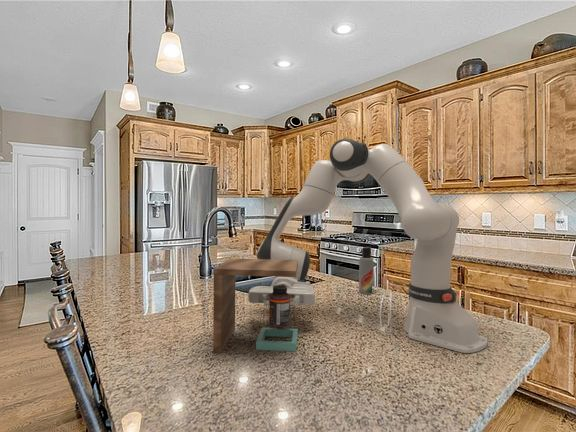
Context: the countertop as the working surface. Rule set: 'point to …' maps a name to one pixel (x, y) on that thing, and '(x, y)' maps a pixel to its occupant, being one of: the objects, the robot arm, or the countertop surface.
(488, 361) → the countertop surface
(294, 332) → the socket
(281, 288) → the supplement bottle
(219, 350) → the wooden l-shaped bracket
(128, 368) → the countertop surface
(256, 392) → the countertop surface
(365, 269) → the lotion bottle
